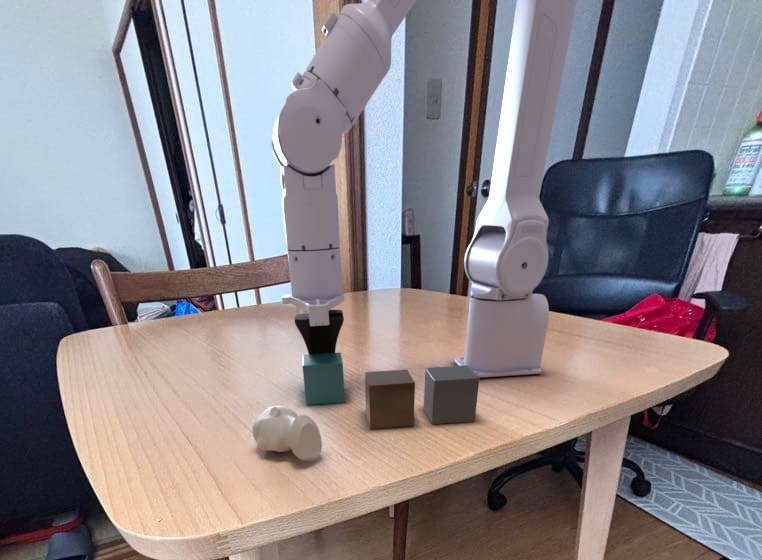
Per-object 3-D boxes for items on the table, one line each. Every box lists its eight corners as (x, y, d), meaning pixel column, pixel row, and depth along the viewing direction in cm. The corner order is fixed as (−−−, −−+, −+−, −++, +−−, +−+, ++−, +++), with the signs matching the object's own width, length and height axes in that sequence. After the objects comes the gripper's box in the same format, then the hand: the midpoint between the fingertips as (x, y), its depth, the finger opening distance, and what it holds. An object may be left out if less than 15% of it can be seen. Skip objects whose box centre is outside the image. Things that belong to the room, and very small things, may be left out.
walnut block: (406, 410, 52) (407, 369, 49) (413, 426, 48) (415, 382, 45) (365, 413, 51) (364, 372, 49) (370, 429, 48) (369, 385, 45)
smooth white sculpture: (254, 454, 47) (295, 427, 48) (290, 483, 41) (335, 452, 42) (233, 417, 44) (277, 390, 45) (269, 443, 38) (318, 411, 39)
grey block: (463, 406, 52) (467, 365, 49) (474, 421, 48) (479, 377, 46) (423, 409, 52) (425, 367, 49) (431, 424, 48) (434, 380, 45)
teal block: (342, 389, 58) (340, 352, 55) (344, 402, 54) (342, 363, 52) (306, 392, 58) (302, 354, 55) (306, 405, 54) (302, 365, 52)
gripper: (280, 245, 56) (293, 362, 64) (272, 256, 44) (289, 397, 52) (338, 242, 56) (344, 359, 64) (346, 252, 45) (352, 393, 53)
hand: (323, 376), depth 58 cm, fingers closed
